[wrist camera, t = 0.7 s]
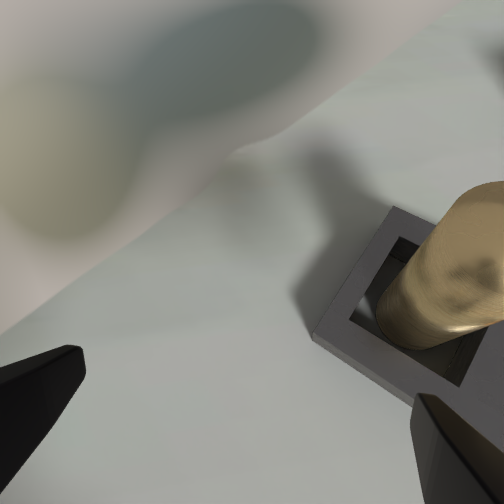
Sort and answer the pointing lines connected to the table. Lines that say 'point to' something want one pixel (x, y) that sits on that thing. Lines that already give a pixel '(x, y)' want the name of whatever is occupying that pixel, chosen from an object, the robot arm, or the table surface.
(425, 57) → the table surface
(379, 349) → the grey peg board
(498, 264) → the brass pin
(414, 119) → the table surface
